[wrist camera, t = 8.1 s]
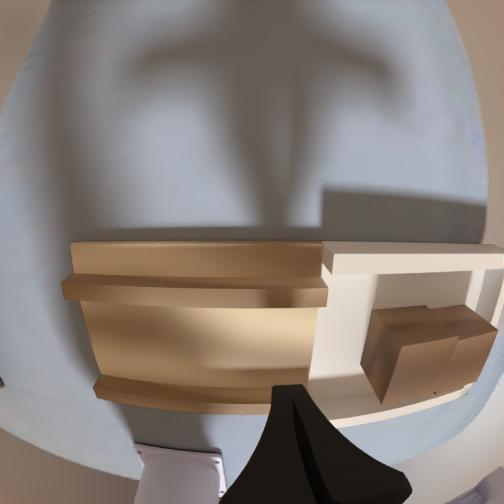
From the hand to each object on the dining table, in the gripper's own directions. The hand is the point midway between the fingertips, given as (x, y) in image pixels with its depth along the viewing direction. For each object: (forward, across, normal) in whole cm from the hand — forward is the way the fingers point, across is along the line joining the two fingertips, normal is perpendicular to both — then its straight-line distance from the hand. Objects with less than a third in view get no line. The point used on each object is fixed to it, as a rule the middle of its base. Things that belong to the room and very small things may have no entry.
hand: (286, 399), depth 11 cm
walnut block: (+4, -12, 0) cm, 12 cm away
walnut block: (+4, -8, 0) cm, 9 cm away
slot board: (+5, +5, 0) cm, 7 cm away
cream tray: (+5, -9, 0) cm, 10 cm away
